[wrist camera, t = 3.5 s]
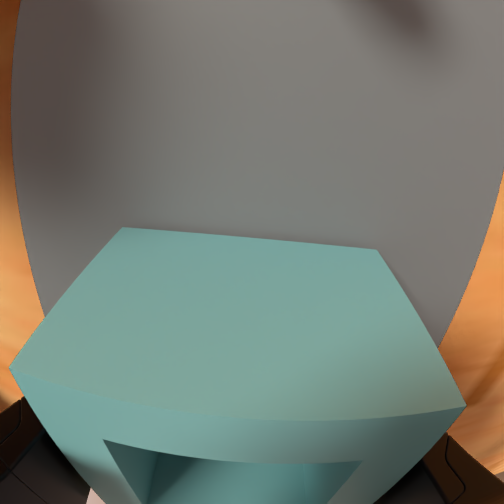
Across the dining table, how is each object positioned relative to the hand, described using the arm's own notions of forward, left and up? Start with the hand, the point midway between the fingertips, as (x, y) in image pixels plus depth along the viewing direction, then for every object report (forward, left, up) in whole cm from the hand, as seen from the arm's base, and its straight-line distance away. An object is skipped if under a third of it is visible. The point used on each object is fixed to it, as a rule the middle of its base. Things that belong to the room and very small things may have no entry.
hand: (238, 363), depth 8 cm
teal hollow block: (0, 0, -1) cm, 1 cm away
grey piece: (+7, 0, -3) cm, 8 cm away
